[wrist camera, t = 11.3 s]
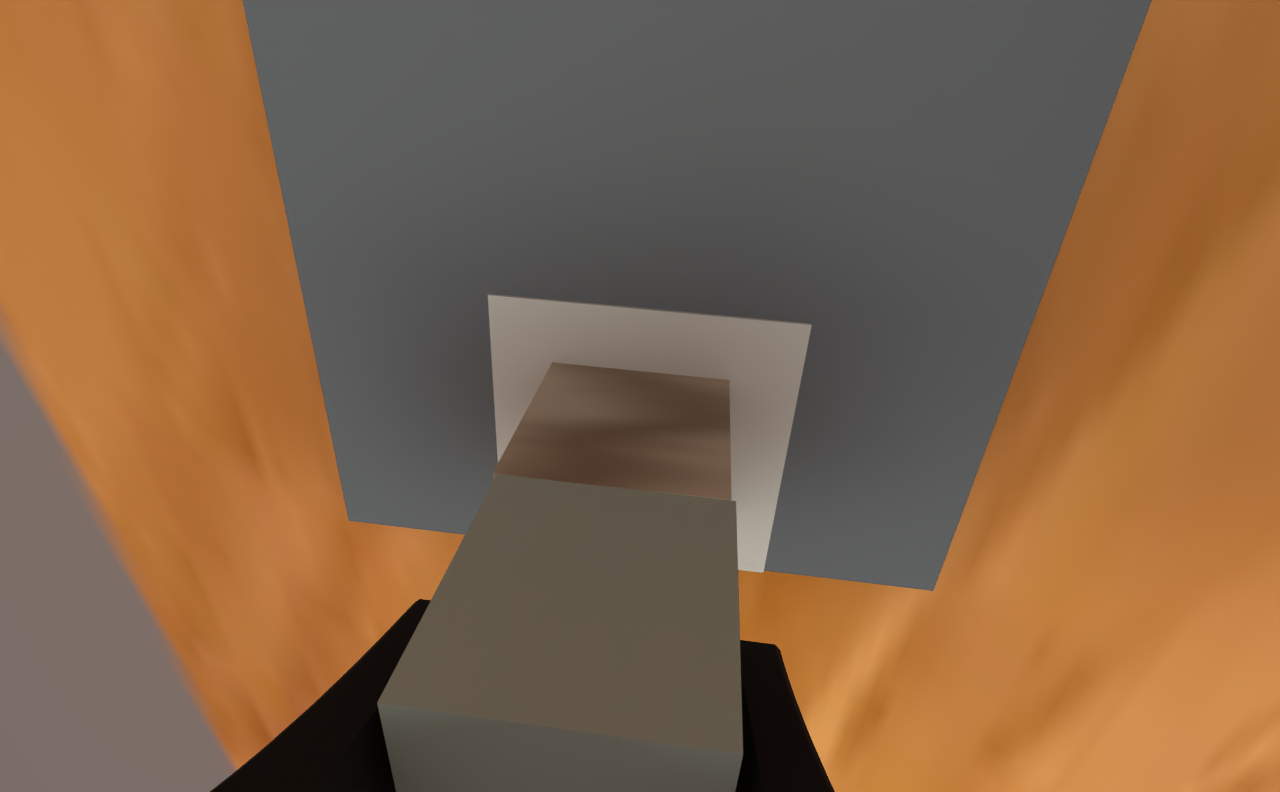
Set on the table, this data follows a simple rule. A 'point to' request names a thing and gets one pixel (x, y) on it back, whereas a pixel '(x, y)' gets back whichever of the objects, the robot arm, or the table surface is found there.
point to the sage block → (576, 649)
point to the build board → (687, 235)
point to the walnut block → (625, 432)
